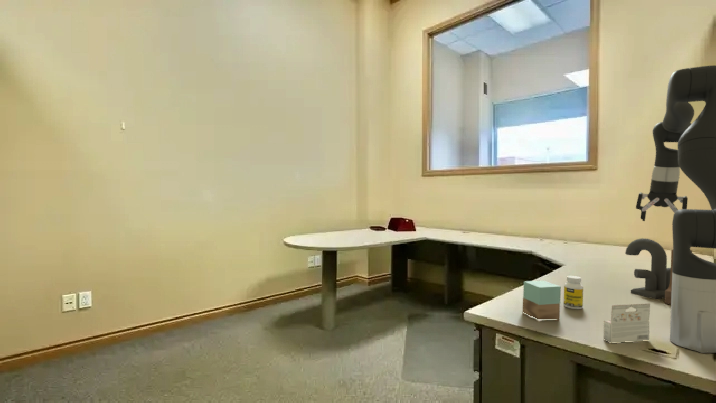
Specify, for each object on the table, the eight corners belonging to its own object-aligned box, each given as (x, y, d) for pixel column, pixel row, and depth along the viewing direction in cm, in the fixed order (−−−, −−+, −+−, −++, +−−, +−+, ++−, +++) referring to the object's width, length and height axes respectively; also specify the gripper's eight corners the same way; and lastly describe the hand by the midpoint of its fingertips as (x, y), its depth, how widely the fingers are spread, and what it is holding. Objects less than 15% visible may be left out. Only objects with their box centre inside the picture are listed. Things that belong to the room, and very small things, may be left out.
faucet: (640, 284, 150) (641, 235, 150) (686, 294, 135) (688, 240, 135) (609, 288, 144) (611, 237, 143) (654, 299, 129) (656, 242, 128)
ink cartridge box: (602, 340, 93) (603, 302, 92) (640, 338, 94) (642, 300, 94) (610, 344, 90) (612, 305, 90) (649, 342, 92) (651, 303, 92)
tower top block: (560, 303, 107) (560, 286, 107) (539, 304, 105) (539, 287, 105) (543, 296, 114) (543, 280, 113) (523, 297, 112) (523, 281, 112)
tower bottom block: (559, 320, 107) (559, 303, 107) (538, 322, 105) (538, 304, 105) (542, 312, 114) (542, 296, 114) (522, 314, 112) (522, 297, 112)
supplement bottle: (563, 307, 118) (564, 277, 118) (563, 303, 123) (563, 274, 123) (583, 310, 116) (584, 279, 115) (582, 305, 121) (582, 276, 120)
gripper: (639, 179, 133) (633, 222, 137) (692, 182, 124) (684, 228, 128) (640, 175, 139) (635, 217, 142) (691, 178, 129) (683, 222, 133)
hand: (658, 222), depth 135 cm, fingers open, 8 cm apart
